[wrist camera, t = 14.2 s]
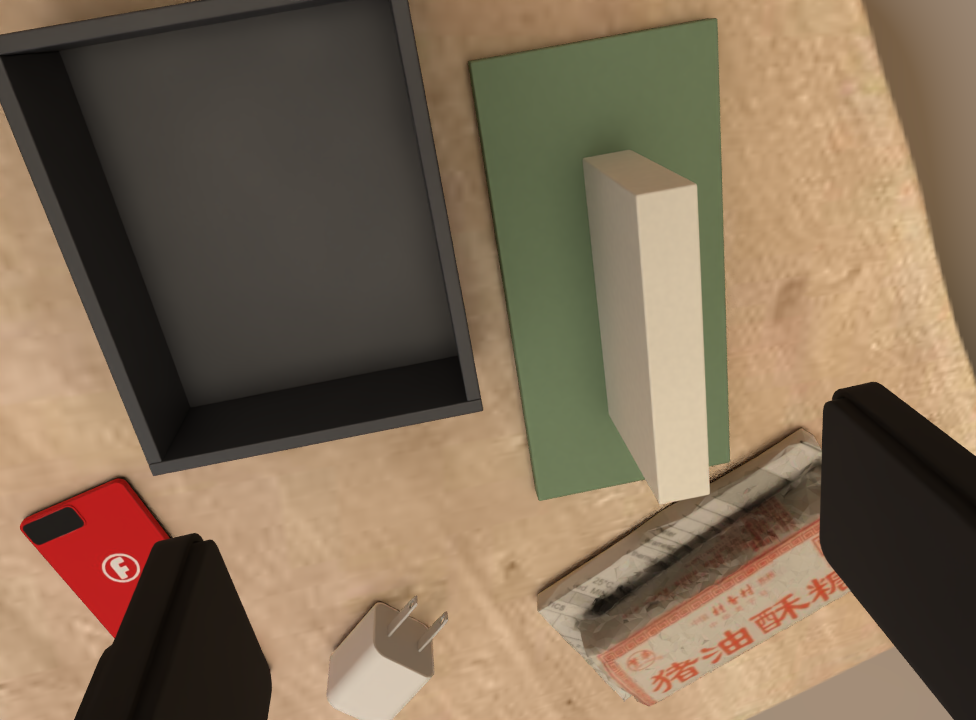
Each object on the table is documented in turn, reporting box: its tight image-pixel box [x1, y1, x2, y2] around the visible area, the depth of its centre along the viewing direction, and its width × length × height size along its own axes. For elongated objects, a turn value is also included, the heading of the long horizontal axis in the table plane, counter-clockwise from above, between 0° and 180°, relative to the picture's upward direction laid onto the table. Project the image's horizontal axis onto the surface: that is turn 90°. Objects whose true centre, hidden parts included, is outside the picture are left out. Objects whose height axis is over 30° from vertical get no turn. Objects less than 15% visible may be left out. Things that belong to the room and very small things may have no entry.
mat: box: [468, 18, 730, 501], centre depth 36 cm, size 22×10×1 cm, turn 9°
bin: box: [0, 0, 483, 476], centre depth 31 cm, size 17×14×6 cm
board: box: [582, 150, 710, 504], centre depth 32 cm, size 13×2×8 cm, turn 9°
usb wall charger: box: [327, 596, 448, 720], centre depth 42 cm, size 4×7×4 cm, turn 141°
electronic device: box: [20, 478, 170, 638], centre depth 41 cm, size 6×1×15 cm
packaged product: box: [537, 428, 851, 706], centre depth 42 cm, size 18×5×10 cm
